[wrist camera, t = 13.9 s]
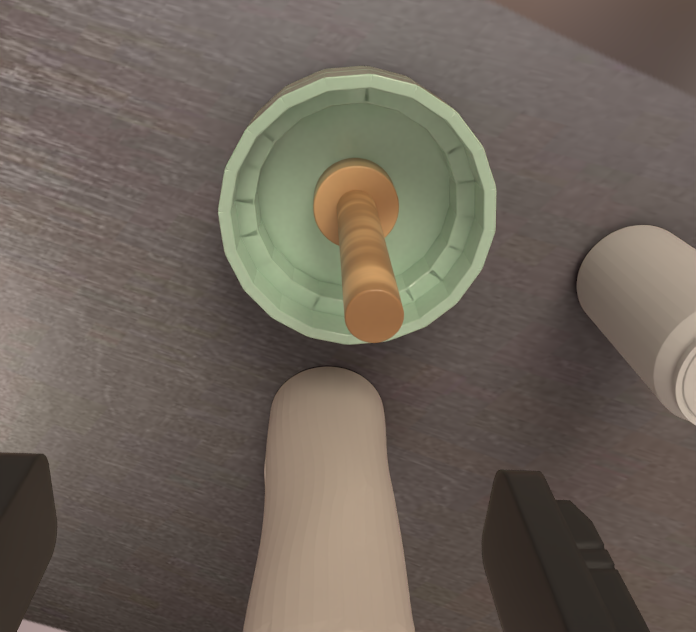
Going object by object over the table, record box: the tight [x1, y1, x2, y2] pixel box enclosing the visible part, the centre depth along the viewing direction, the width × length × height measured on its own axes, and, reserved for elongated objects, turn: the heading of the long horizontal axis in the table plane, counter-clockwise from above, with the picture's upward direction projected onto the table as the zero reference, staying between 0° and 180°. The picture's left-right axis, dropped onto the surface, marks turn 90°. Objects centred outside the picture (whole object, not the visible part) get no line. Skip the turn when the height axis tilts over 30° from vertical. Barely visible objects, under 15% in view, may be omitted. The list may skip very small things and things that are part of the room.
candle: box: [243, 367, 415, 632], centre depth 35 cm, size 7×14×20 cm, turn 171°
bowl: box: [218, 66, 496, 345], centre depth 34 cm, size 13×13×5 cm
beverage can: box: [577, 225, 696, 425], centre depth 33 cm, size 6×6×12 cm
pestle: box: [313, 158, 404, 343], centre depth 29 cm, size 4×4×15 cm
